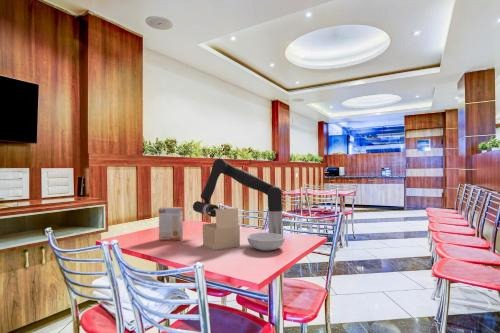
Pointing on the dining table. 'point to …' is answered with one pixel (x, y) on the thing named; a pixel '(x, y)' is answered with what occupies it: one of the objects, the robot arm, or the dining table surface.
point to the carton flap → (227, 218)
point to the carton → (221, 237)
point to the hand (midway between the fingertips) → (224, 213)
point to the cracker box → (170, 223)
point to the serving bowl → (266, 241)
